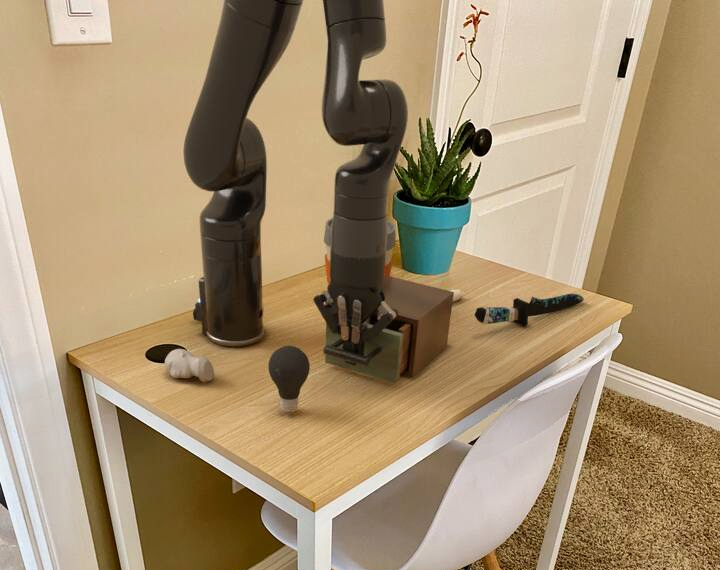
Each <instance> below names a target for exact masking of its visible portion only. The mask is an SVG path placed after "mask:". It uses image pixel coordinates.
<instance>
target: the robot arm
mask: <svg viewBox="0 0 720 570" xmlns="http://www.w3.org/2000/svg"><path fill="white" fill-rule="evenodd" d="M303 3H304V0H223V4H222V9H221V15H220V20H219V24H218V27H217V30H216V35H215V39H214V42H213V47H212V51H211V55H210V59H209V63H208V67H207V71H206V75H205V78H204V80H203V84H202V88H201V90H200V93H199V96H198V99H197V102H196V104H195V107H194V110H193V112H192V115H191V117H190V118H191V119H190V122H189V123H188V126H187V130H186V134H185V137H184V142H183V151H182V152H183V164H184V167H185V170H186V173H187V176H188V177H189V179H190V181H191V182H192V183H193V184H194V186H196V187H197V188H199V189H200V190H201V191H206V192H211V193H212V192H213V193H212V196H211V197H210V200H209V202H208V203H207V204H206V205H205V207H204V208H203V209H202V210H201V212H200V214H199V219H198V220H199V234H200V245H201V246H200V247H201V249H200V250H201V262H202V263H201V264H202V277H200V278H199V279H198V292H199V293H198V294H199V298H198V300H197V302H196V303H195V304H194V307H195V308H194V309H193V311H192V317H193V321H197V322H200V323H201V333H202V335H204V336H206V337H207V339H208V340H209V341H210V342H212V343H213V344H217V345H220V346H224V347H245V346H250V345H253V344H256V343H258V342H260V341H261V340H262V339H263V337H264V336H265V332H264V310H265V309H264V306H265V305H264V303H263V269H262V268H263V267H262V265H263V264H262V222H263V218H264V215H265V212H266V207H267V178H268V177H267V176H268V175H267V173H268V162H267V161H268V160H267V149H266V144H265V141H264V137H263V135H262V133H261V130H260V129H259V127H258V126H257V125H256V124H255V123H254V121H252V120H251V119H249V118H248V115H249V111H250V108H251V106H252V104H253V102H254V100H255V98H256V96H257V94H258V93H259V91H260V90H261V89H262V87H263V85H264V84H265V83H266V81H267V79H268V78H269V77H270V75H271V74H272V72H273V71H274V69H275V68H276V67H277V65H278V63H279V61H280V60H281V58H282V57H283V55H284V54H285V52H286V50H287V48H288V46H289V45H290V43H291V39H292V38H293V35H294V32H295V30H296V27H297V23H298V19H299V17H300V13H301V10H302V6H303ZM322 6H323V14H324V23H325V32H326V41H327V45H326V46H327V47H326V48H327V49H326V59H325V73H324V80H323V81H324V82H323V89H322V96H321V97H322V98H321V118H322V122H323V123H322V124H323V126H324V129H325V131H326V133H327V135H328V137H329V138H330V139H331V140H332V142H334V143H335V144H336V145H339V146H343V147H349V146H351V147H352V146H362V148H361V151H360V152H359V154H358V155H357V156H356V157H355V158H353V159H352V160H349V161H347V162H345V163H343V164H340V166H339V167H338V168H337V169H336V171H335V174H334V184H333V187H334V189H333V214H332V218H333V220H332V227H331V237H330V242H331V250H330V278H331V281H330V283H329V284H328V285H327V290H323V291H322V292H320V293H318V294H317V295H315V296H314V297H313V303H314V304H315V306H316V308H317V309H318V311H319V313H320V314H321V316H322V319H324V322H325V323H327V325H328V326H329V328H330V330H331V332H332V333H334V334H336V333H338V334H339V335H341V337H342V339H343V350H346V351H350V352H353V353H357V354H360V355H363V356H364V343H365V342H369V341H371V340H372V339H373V338H374V337H376V336H377V335H378V334H379V333H380V332H381V331H382V330H383V329H384V328H385V327H386V326H387V325H388V324H389V323H390V322H392V321H393V320H394V319H395V318H396V317H397V316H398V311H397V310H396V309H392V310H391V308H390V307H389V306H388V305H387V304H386V303H385V302H384V301H385V294H384V292H383V282H384V272H385V258H386V244H387V221H388V205H389V204H388V203H389V190H390V181H391V178H392V174H393V173H394V169H395V166H396V163H397V160H398V157H399V155H400V154H399V153H400V150H401V148H402V145H403V141H404V139H405V135H406V132H407V127H408V120H409V107H408V101H407V97H406V94H405V92H404V90H403V89H402V87H401V86H400V85H399V84H398V83H397V82H396V81H394V80H391V79H386V78H384V79H381V78H380V79H361V80H360V70H361V66H362V63H363V60H367V59H370V58H373V57H376V56H378V55H379V54H381V53H382V52H383V51H384V50H385V48H386V46H387V26H386V25H387V24H386V14H385V3H384V0H322ZM377 309H379V313H378V314H377V319H378V320H379V321H378V322H377V323H376V324H375V325H374V326H373V327H371V328H370V329H369V330H367V328H368V324H369V322H370V317H371V316H372V315H373V314H374V313H375V312H376V311H377ZM345 363H347V364H350V365H354V366H355V365H356V363H352V362H349V361H346V360H345Z"/></svg>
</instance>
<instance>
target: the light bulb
mask: <svg viewBox="0 0 720 570" xmlns="http://www.w3.org/2000/svg"><path fill="white" fill-rule="evenodd" d="M309 360H310V359H309V358H308V356H307V354H306V353H305V352H304V351H303V350H302V349H301V348H300V347H297V346H294V345H283V346H280V347H279V348H277V349H276V350H274V352H272V354H271V356H270V357H269V360H268V367H267V369H268V373H269V376H270V379H271V380H272V381H273V383H274V384H275V386H276V388H277V392H278V396H279V401H280V402H279V407H280V409H281V410H282V411H284V412H285V413H286V414H293V412H295V411H296V410H298V406H299V396H300V393H301V389H302V387H303V385H304V384H305V382H306V381H307V379H308V377H309V376H310V375H309V374H310V371H311V366H310V361H309Z"/></svg>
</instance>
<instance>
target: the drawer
mask: <svg viewBox="0 0 720 570" xmlns="http://www.w3.org/2000/svg"><path fill="white" fill-rule="evenodd" d="M378 321H379V320H378V319H377V314H373V315H372V316H371V317H370V322H369V324H368V328H367V330H369V329H370V328H371V327H373V326H374V325H375V324H376V323H377V322H378ZM325 323H326V322H325ZM325 325H326V327H325V346H324V347H323V350H322V351H323V354H324V355H325V356H324V357H325V358H324V362H325V364H329V365H332V366H336V367H339V368H342V369H346V370H349V371H352V372H355V373H359V374H362V375H364V376H368V377H372V378H375V379H378V380H381V381H385V382H388V383H390V384H394V385H396V384H398V383H399V382H400V376H401V374H400V373H401V372H403V371H404V370H405V369H406V368H407V367H408V366H409V362H410V352H411V342H412V332H413V324H411V323H407V322H404V321H400V320H396V319H394V320H393V321H392V322H390V323H389V324H388V325H387V326H386V327H385V328H384V329H383V330H382V331H381V332H380V333H379V334H378V335H377V336H376V337H374V338H373V339H372V340H371V341H369V342H365V343H364V356H363V355H360V354H357V353H353V352H350V351H346V350H343V339H342V337H341V335H339V334H338V333H336V334H334V333H332V332H331V330H330V328H329V326H328V325H327V323H326V324H325ZM345 360H346V361H349V362H352V363H356V365H355V366H354V365H350V364H347V363H345Z"/></svg>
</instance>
